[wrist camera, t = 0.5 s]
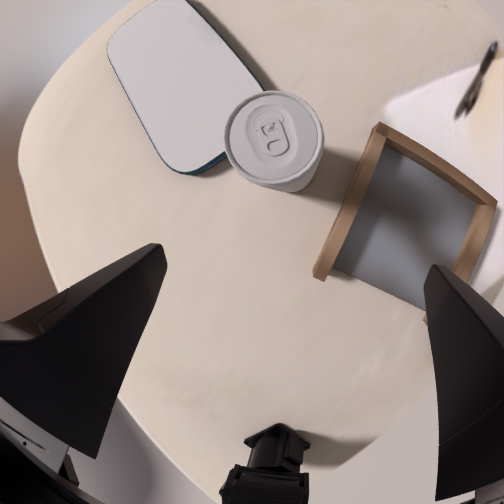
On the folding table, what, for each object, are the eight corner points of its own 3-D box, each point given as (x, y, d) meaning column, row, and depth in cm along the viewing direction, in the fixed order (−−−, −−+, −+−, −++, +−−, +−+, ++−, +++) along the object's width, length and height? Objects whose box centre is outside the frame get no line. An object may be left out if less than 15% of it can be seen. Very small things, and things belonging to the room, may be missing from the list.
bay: (429, 323, 23) (438, 333, 21) (312, 269, 24) (313, 277, 22) (484, 200, 19) (497, 201, 17) (372, 128, 21) (379, 121, 18)
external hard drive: (109, 49, 24) (100, 43, 22) (180, -5, 21) (174, -13, 19) (184, 188, 26) (175, 188, 24) (287, 122, 23) (285, 116, 21)
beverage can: (306, 133, 22) (305, 76, 11) (322, 184, 23) (340, 171, 11) (254, 148, 23) (208, 107, 12) (270, 199, 24) (236, 200, 12)
